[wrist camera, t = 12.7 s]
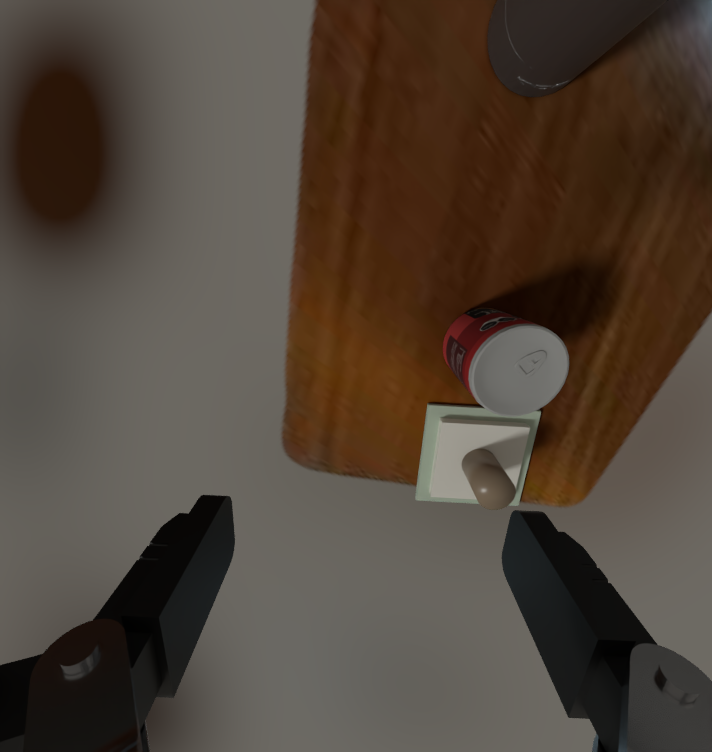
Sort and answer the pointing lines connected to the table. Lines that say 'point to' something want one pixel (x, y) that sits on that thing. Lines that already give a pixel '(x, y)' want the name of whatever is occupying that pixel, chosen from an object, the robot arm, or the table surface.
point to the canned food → (506, 361)
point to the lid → (478, 460)
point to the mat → (467, 413)
